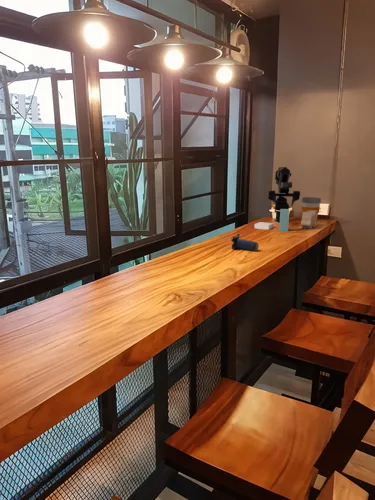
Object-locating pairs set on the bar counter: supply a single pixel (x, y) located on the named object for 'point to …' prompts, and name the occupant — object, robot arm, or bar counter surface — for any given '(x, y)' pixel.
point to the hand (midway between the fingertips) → (284, 205)
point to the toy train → (309, 219)
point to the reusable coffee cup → (311, 204)
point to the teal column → (284, 219)
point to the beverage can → (244, 244)
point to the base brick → (264, 225)
